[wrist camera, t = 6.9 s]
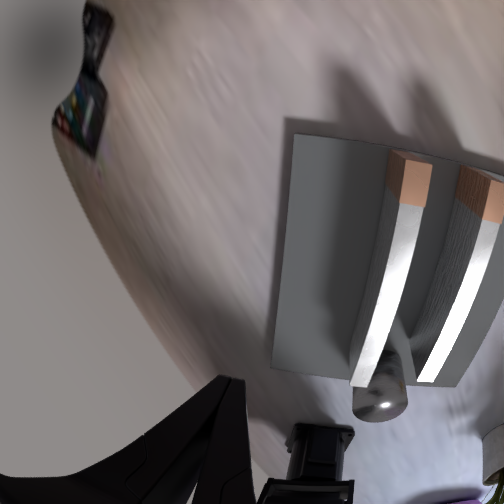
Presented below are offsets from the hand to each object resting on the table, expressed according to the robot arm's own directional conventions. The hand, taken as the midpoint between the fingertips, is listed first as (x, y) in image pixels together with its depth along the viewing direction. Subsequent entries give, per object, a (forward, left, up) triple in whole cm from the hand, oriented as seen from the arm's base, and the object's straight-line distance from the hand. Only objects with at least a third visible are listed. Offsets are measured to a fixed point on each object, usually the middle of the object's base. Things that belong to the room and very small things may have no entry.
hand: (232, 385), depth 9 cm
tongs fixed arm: (0, -11, -12) cm, 16 cm away
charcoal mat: (-2, -8, -13) cm, 15 cm away
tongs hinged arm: (-2, -8, -12) cm, 14 cm away
